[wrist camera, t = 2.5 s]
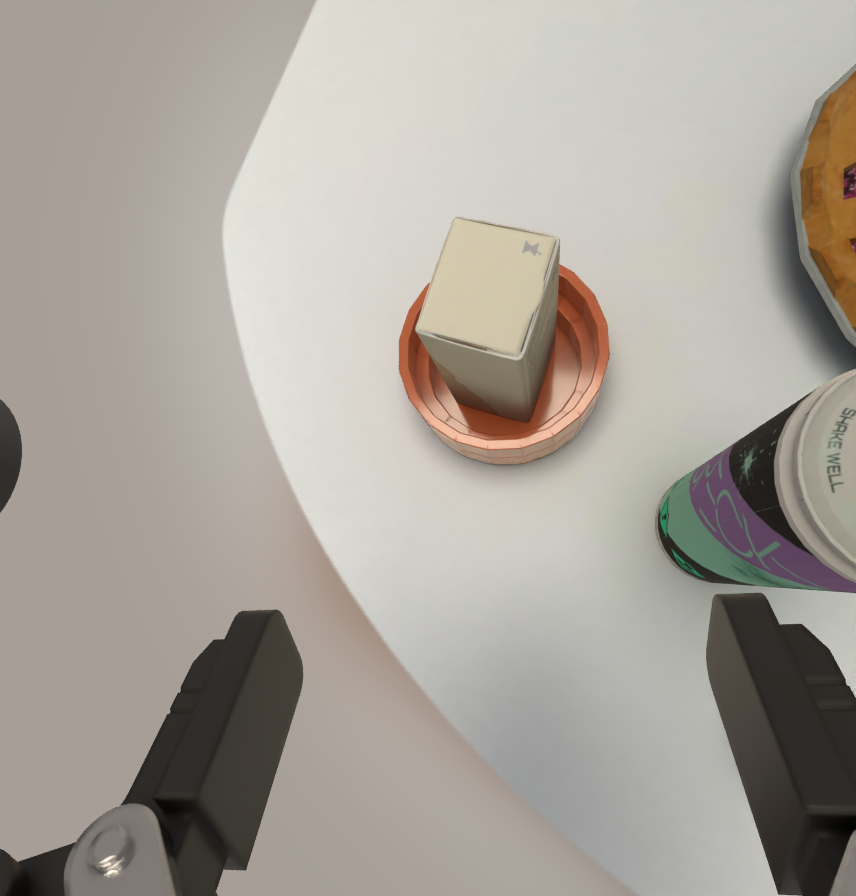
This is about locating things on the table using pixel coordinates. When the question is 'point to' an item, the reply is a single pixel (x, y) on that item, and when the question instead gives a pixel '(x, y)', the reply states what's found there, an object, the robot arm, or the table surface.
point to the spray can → (774, 501)
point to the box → (493, 315)
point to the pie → (830, 200)
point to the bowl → (560, 398)
